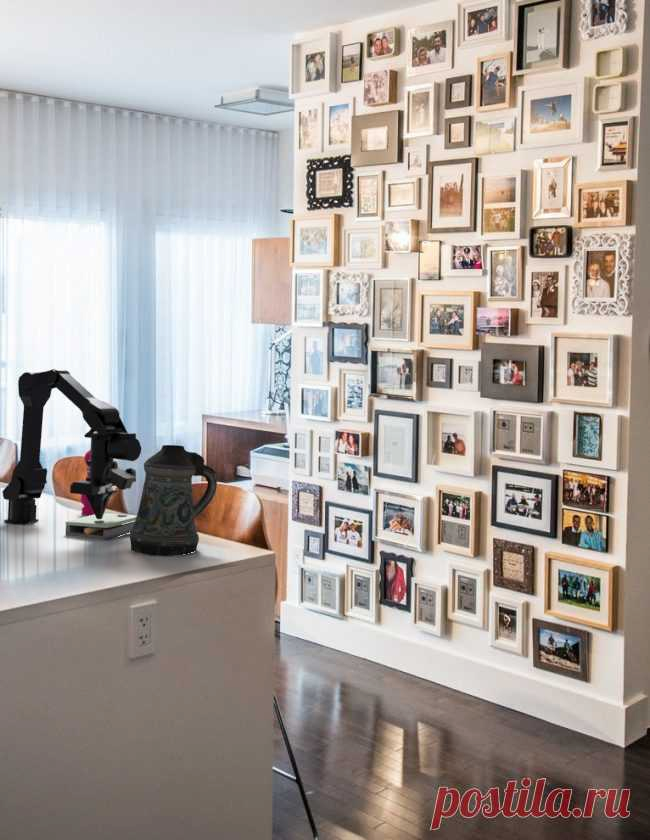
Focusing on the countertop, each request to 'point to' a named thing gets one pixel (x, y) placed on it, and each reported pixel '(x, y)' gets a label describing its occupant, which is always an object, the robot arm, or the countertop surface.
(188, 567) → the countertop surface
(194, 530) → the beer stein
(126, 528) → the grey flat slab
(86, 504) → the pepper mill
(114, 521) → the cover
